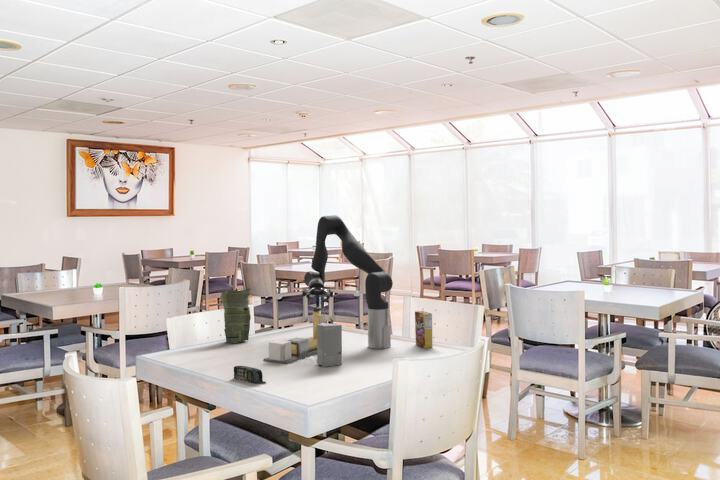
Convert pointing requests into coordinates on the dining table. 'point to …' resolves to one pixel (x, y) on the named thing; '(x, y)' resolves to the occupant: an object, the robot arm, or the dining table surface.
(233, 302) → the pouch
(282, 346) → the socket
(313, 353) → the grey base with blocks
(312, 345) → the yellow angular piece
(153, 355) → the dining table surface
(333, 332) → the skincare box
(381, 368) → the dining table surface
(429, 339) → the candy box
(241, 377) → the mobile phone
